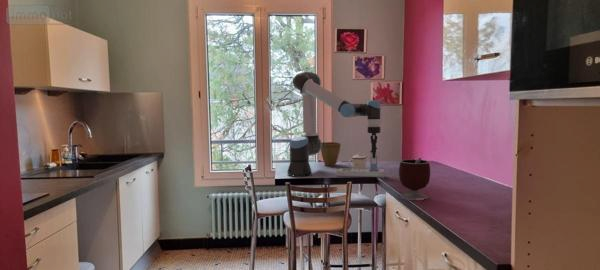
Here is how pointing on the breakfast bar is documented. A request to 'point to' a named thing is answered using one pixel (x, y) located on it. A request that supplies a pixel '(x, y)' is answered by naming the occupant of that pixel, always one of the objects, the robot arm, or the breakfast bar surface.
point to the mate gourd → (414, 177)
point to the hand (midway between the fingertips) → (373, 161)
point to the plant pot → (330, 152)
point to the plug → (373, 165)
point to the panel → (360, 173)
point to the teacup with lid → (358, 161)
